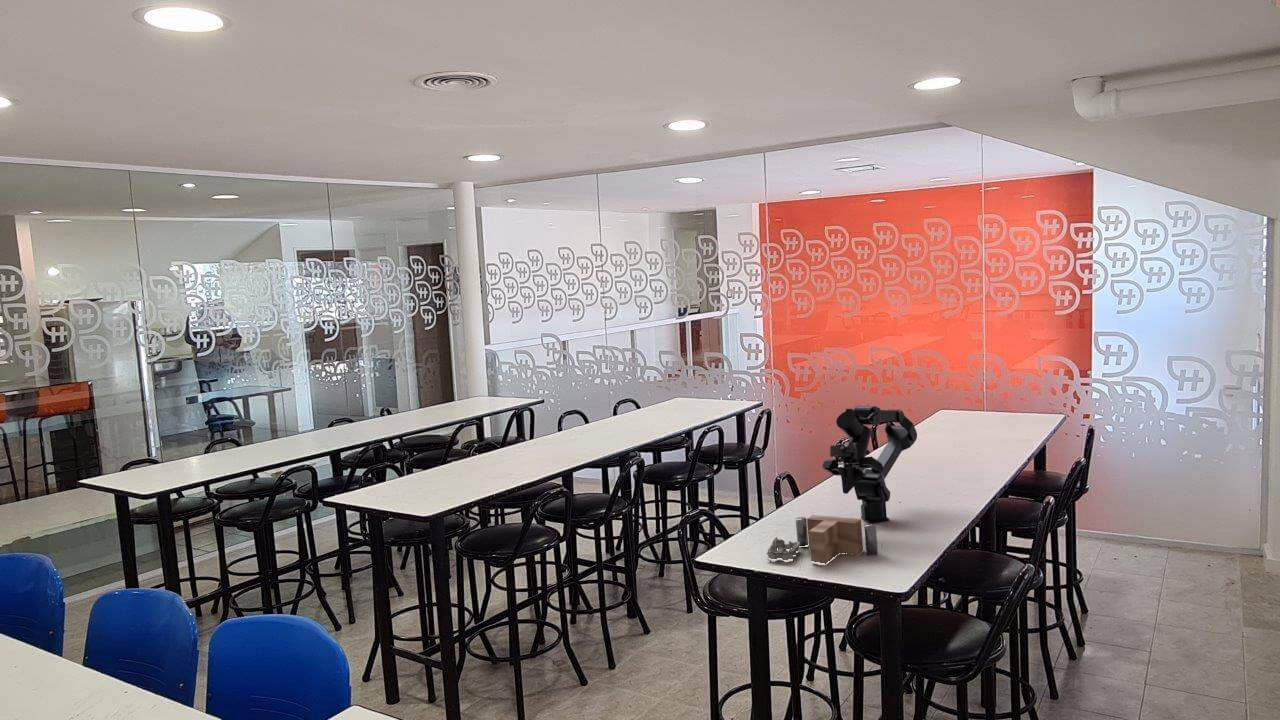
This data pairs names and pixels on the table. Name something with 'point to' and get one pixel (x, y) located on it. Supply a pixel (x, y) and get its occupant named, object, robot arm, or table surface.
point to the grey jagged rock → (782, 549)
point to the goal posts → (869, 535)
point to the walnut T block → (833, 537)
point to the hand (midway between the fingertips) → (845, 493)
